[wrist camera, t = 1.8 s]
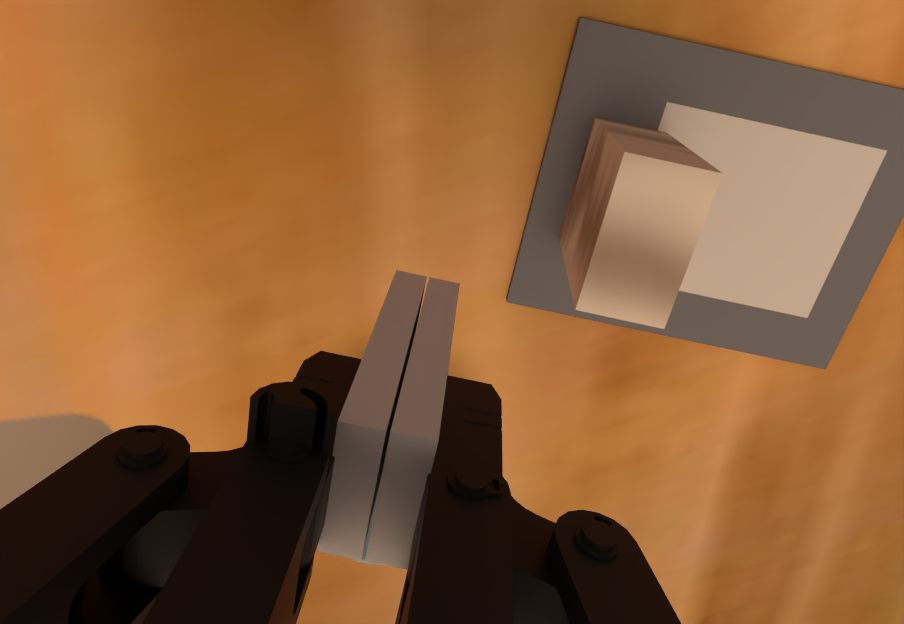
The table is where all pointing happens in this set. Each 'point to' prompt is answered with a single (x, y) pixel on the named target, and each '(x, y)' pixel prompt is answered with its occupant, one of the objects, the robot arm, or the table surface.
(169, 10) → the table surface
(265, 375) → the table surface
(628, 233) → the block
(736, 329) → the mat
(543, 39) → the table surface
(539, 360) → the table surface
